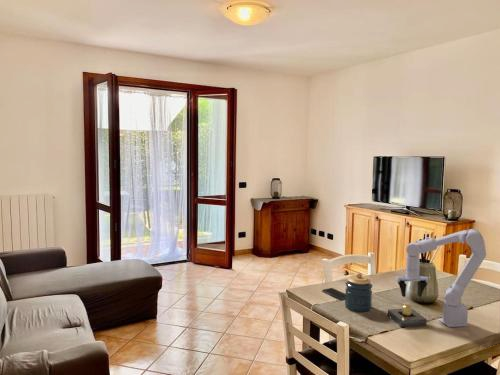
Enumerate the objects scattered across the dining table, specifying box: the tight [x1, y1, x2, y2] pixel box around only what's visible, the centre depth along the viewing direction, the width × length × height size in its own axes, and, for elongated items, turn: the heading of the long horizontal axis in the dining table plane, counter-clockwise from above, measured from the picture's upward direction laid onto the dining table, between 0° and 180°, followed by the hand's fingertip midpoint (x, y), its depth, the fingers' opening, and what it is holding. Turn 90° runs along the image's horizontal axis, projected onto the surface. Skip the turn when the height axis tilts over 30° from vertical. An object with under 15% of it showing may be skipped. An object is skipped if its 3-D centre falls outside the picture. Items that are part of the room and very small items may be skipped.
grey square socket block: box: [387, 308, 427, 328], centre depth 174 cm, size 12×12×3 cm
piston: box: [401, 303, 413, 317], centre depth 173 cm, size 4×4×7 cm
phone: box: [321, 287, 346, 301], centre depth 206 cm, size 8×1×15 cm
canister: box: [344, 272, 373, 313], centre depth 188 cm, size 13×13×18 cm
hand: (411, 296), depth 178 cm, fingers open, 7 cm apart
